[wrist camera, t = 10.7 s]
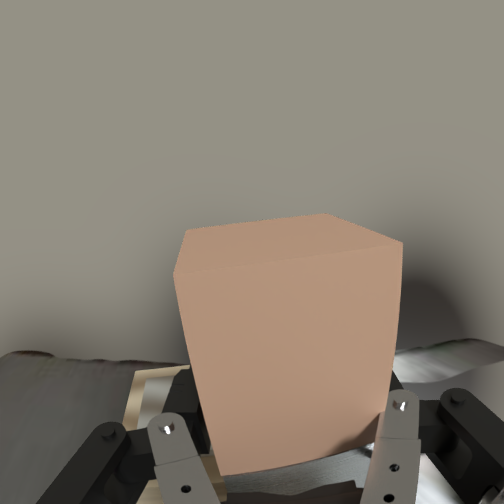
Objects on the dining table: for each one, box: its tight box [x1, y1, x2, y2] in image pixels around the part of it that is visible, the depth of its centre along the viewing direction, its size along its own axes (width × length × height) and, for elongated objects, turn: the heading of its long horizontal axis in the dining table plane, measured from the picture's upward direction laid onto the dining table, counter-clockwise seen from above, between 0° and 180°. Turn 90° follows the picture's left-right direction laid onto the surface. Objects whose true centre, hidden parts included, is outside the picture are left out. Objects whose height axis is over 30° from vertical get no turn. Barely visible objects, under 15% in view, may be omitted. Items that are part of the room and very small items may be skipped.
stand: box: [122, 365, 228, 504], centre depth 28 cm, size 18×14×4 cm
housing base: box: [223, 442, 374, 495], centre depth 11 cm, size 5×5×8 cm
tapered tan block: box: [173, 213, 403, 476], centre depth 10 cm, size 5×5×6 cm
